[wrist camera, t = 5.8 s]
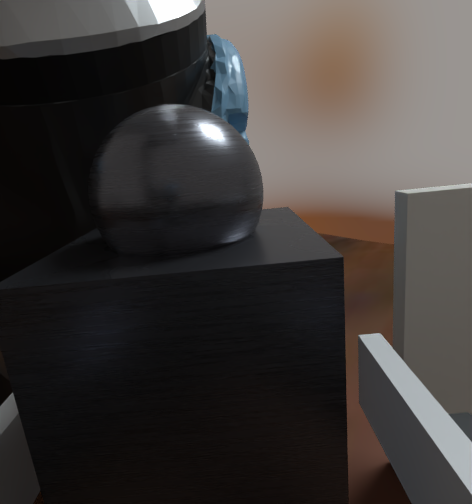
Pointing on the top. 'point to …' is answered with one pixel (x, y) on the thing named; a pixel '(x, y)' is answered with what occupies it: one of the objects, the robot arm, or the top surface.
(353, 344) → the top surface
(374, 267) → the top surface
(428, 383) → the door
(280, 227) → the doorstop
